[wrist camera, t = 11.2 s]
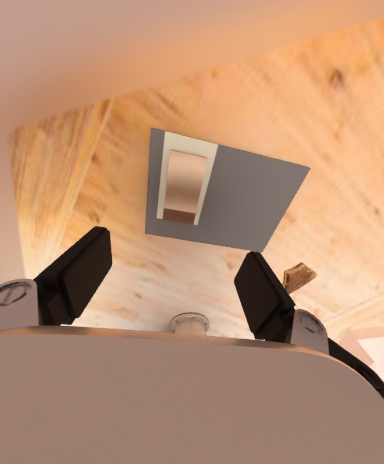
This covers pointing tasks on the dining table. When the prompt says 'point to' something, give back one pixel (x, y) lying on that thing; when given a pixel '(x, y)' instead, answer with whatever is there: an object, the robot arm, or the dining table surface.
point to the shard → (297, 278)
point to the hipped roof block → (366, 347)
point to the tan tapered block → (183, 186)
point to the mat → (223, 193)
